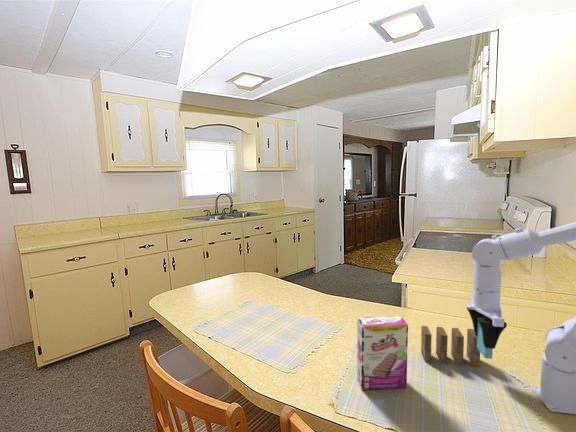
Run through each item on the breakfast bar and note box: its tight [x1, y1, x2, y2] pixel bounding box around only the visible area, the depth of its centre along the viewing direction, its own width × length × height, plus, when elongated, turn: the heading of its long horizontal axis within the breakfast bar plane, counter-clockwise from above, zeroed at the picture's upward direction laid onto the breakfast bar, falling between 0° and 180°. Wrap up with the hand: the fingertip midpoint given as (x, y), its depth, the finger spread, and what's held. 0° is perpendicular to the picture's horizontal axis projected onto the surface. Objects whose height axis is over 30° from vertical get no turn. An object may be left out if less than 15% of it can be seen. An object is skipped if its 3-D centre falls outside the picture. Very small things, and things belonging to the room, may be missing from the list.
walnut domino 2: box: [435, 326, 449, 365], centre depth 87 cm, size 2×5×8 cm, turn 167°
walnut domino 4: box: [466, 328, 481, 367], centre depth 85 cm, size 2×5×8 cm, turn 168°
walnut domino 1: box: [420, 325, 432, 363], centre depth 88 cm, size 2×5×8 cm, turn 167°
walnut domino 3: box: [450, 327, 465, 366], centre depth 86 cm, size 2×5×8 cm, turn 168°
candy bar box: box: [356, 315, 409, 391], centre depth 77 cm, size 11×5×16 cm, turn 92°
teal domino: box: [477, 322, 494, 360], centre depth 78 cm, size 2×5×8 cm, turn 169°
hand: (484, 341), depth 78 cm, fingers closed on teal domino, 5 cm apart
